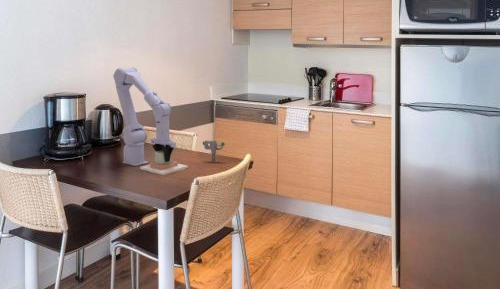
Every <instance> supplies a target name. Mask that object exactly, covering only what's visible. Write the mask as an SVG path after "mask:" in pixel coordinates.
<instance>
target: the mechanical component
mask: <svg viewBox="0 0 500 289" xmlns="http://www.w3.org/2000/svg"><path fill="white" fill-rule="evenodd" d="M202 145H203V146H204V149H205V150H206V151H207V150H210V154H211V162H212V163H216V153H217V151H221V150H222V149H223V148H224V146H225V141H220V143H219V144H218V141H217V140H203V141H202Z"/></svg>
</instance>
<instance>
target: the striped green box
mask: <svg viewBox="0 0 500 289" xmlns="http://www.w3.org/2000/svg"><path fill="white" fill-rule="evenodd" d="M171 160H172V156H171V157H170V161H169V162H165V159H164V152H163V150H160V151H156V152H155V151H154V162H155V164H159V165H164V164H168V163H171Z"/></svg>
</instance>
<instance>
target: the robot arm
mask: <svg viewBox="0 0 500 289" xmlns="http://www.w3.org/2000/svg"><path fill="white" fill-rule="evenodd" d="M138 70H139V69H137V68H136V67H126V68H125V67H124V68H121V67H119V68H116V69H115V70H114V73H113V80H114V83H115V89H116V90H115V91H116V93H117V97H118V101H119V103H120V108H121V111H122V115H123V119H124V122H125V127H124V128H123V129H122V134H123V135H122V137H123V138H122V139H123V142H124V144H125V145H124V146H123V149H122V150H123V161H122V163H123V164H126V165H130V166H133V167H135V166H136V167H137V166H141V165H144V164H148V163H149V161H147V160H145V149H144V148H145V146H144V144H146V141H147V139H148V135H147V131H146V130H145V129H144V126H143V125H142V124H141V123H139V121H138V119H137V113H136V111H135V107H134V103H133V100H132V95H131V92H130V89H131V87H133V86H135V88H136V89H138V91H139V92H141V94H142V95H143V99H144V101H145V102H146V103H147V104H148V106H149V107H150V108H151V109H152V115H153V116H154V120H155V129H156V130H155V131H156V132H155V133H156V138H150V144H152V148H153V150H154V153H155V152H156V151H160V150H163V152H164V159H165V162H169V161H170V157H171V158H172V153H173V151H174V149H175V148H176V147H177V142H174V141H173V140H170V136H171V135H170V115H171V114H172V107H171V104H170V103H168V102H165V101H164V100H163V99H162V98H161V97H160V96H159V95H158V93H157V91H154V90H151V89H150V88H149V86H148V85H147V84H146V82H145V81H144V80H143V78H142V77H141V72H139V71H138Z"/></svg>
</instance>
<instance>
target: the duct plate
mask: <svg viewBox="0 0 500 289" xmlns="http://www.w3.org/2000/svg"><path fill="white" fill-rule="evenodd" d="M188 168H189V166H188V165H185V164H181V163H179V162H178V161H176V160H172V159H171V163H168V164H164V165H159V164H155V161H154V162H150V163H149V164H146V165H142V166H140V167H139V169H140V170H142V171H147V172H150V173H152V174H157V175H161V176H164V175H168V174H172V173H175V172H179V171H182V170H185V169H188Z"/></svg>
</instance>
